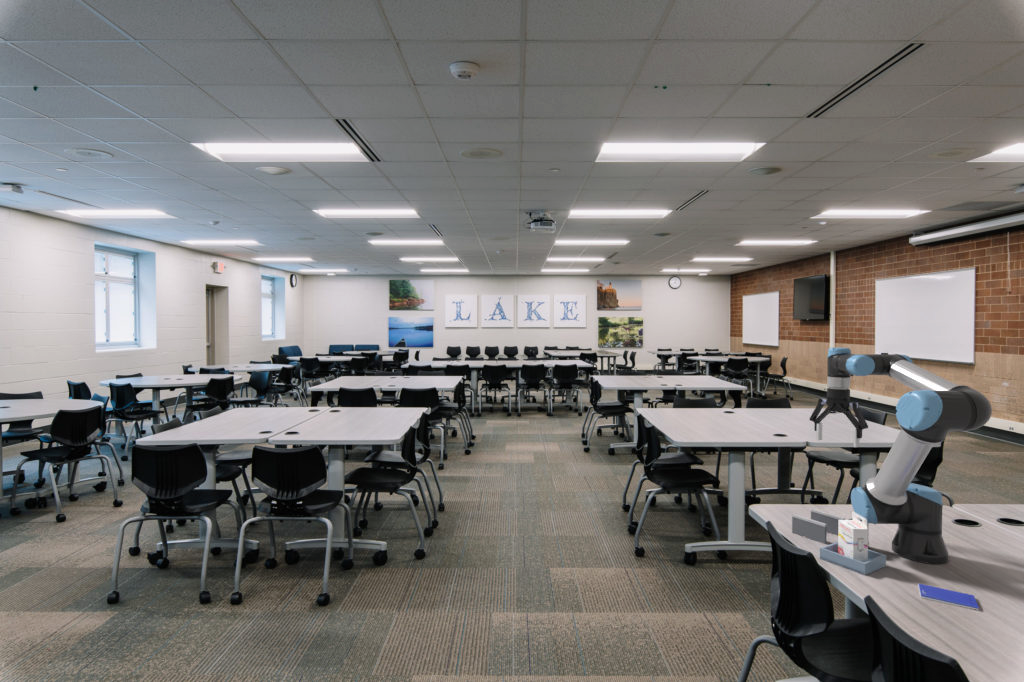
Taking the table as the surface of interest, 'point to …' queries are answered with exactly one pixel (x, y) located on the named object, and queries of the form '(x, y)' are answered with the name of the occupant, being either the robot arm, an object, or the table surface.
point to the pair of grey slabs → (816, 525)
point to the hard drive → (947, 596)
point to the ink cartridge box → (853, 538)
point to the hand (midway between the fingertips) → (837, 443)
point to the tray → (864, 568)
